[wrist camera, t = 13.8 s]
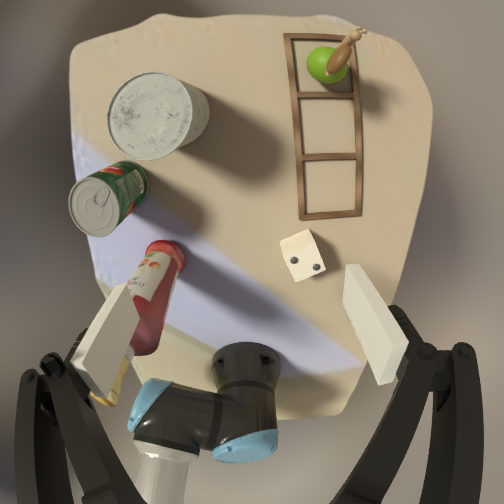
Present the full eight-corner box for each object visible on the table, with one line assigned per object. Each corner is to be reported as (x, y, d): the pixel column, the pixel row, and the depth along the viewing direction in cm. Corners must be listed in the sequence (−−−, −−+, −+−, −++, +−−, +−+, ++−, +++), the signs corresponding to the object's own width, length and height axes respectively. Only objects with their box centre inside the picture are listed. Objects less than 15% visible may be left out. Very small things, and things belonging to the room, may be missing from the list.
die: (318, 253, 45) (326, 270, 40) (291, 265, 46) (295, 283, 41) (308, 228, 43) (315, 243, 38) (279, 241, 44) (283, 257, 39)
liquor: (174, 228, 43) (101, 372, 18) (195, 265, 46) (154, 417, 21) (138, 244, 44) (56, 377, 19) (160, 278, 47) (104, 418, 22)
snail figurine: (348, 58, 30) (385, 41, 19) (331, 92, 33) (363, 84, 22) (315, 40, 29) (341, 14, 18) (297, 74, 32) (316, 57, 21)
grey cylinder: (178, 70, 31) (149, 53, 20) (224, 113, 34) (213, 112, 24) (133, 117, 34) (91, 123, 23) (176, 159, 37) (148, 179, 27)
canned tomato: (129, 217, 41) (98, 249, 32) (97, 185, 39) (59, 209, 29) (158, 184, 39) (131, 208, 29) (124, 149, 36) (87, 164, 26)
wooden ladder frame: (359, 214, 42) (360, 215, 41) (298, 218, 42) (299, 220, 41) (351, 37, 28) (352, 36, 28) (283, 34, 29) (283, 33, 28)
